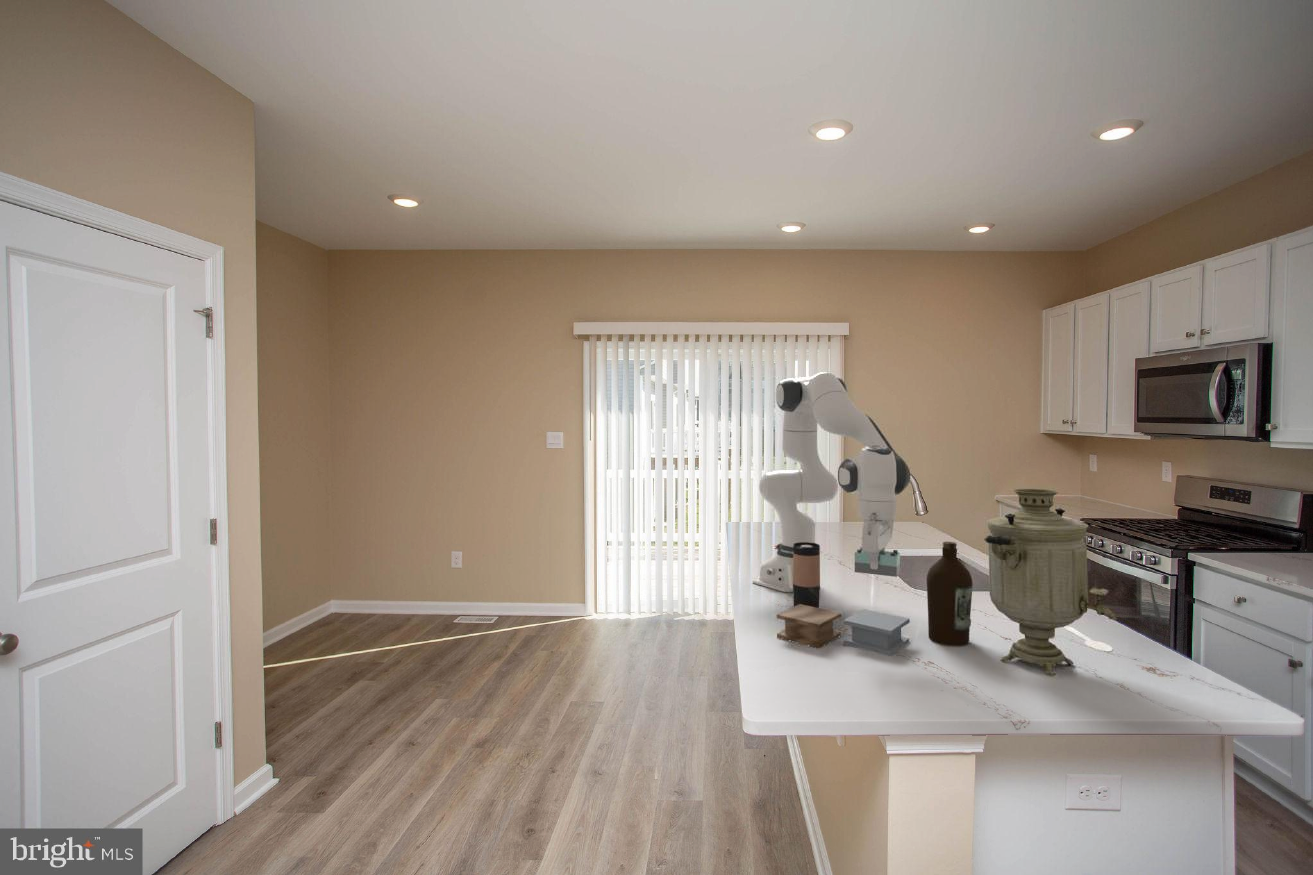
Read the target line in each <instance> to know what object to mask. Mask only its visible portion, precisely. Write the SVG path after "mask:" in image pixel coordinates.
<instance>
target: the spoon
mask: <svg viewBox="0 0 1313 875" xmlns="http://www.w3.org/2000/svg"><path fill="white" fill-rule="evenodd" d="M1062 629H1064V630H1067V631H1068V632H1070V633H1072V634H1073V635H1075V636H1077V637H1079V638H1081V639H1083V640H1085V641H1083V644H1084V645H1085V646H1087V647H1089V648H1091V649H1093V650H1095V651H1096V650H1097V651H1100V652H1106V653H1109V652H1112V651H1113V647H1112V646H1110V645H1109V644H1107V643H1104V642H1102V641H1097V640H1093V639H1091V638H1090V637H1088V636H1086V635H1085V634H1083V633H1082V632H1080V631H1078V630H1077V629H1075V628H1074V627H1072V626H1069V625H1066V626H1064V627H1062Z"/></svg>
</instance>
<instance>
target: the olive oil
mask: <svg viewBox="0 0 1313 875" xmlns="http://www.w3.org/2000/svg"><path fill="white" fill-rule="evenodd" d="M941 550H942V551H941V552H942V554H941V555H942V556H941V557H940V559H938V560H937V561H936V562H935V563H934V564H932V565H931V567H930V568H929V569H928V571H927V575H926V597H927V620H928V621H927V625H928V627H927V628H928V630H927V631H928V639H929V640H930V641H932V642H935V643H936V644H938V645H939V644H940V645H943V646H949V647H964V646H966V645H968V644H969V643H970V632H971V631H970V630H971V629H970V628H971V625H972V619H971V611H972V597H973V578H972V576H971V572H970V571H969V570H968V569H967V568H966V566H965V565H964V564H963V563H962V562H961V560H959V559H958V556H957V555H958V548H957V542H954V541H942V549H941Z"/></svg>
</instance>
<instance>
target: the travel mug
mask: <svg viewBox="0 0 1313 875" xmlns="http://www.w3.org/2000/svg"><path fill="white" fill-rule="evenodd" d="M820 592H821V547H820V544H818V543H816V542H815V543H809V542H799V543H795V544H794V545H793V592H792V595H793V596H792V599H793V607H794V606H797V605H799V604H802V605H807V606H811V607H816V608H820V597H821V596H820V594H821V593H820Z"/></svg>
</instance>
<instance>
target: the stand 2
mask: <svg viewBox="0 0 1313 875" xmlns="http://www.w3.org/2000/svg"><path fill="white" fill-rule="evenodd" d="M908 624H910V618H909V617H904V616H898V615H894V614H890V613H884V612H879V611H876V610H869V609H865V608H863V609H861V610H860V611H858V612H856V613H854V614H852V615H850V616H849V617H847V618H845V619H844V620H843V625H845V626H851V634H850V635H849V636H847V637H846V638H844V639H843V645H846V644H847V645H846V646H850V645H851V646H852V647H855V648H859V649H863V650H867V651H870V652H875V653H878V654H882V655H886V656H891V657H892V656H893V655H894V654H896V653H897V652H898V651H900V650H901V649H902V648H903V647H905V646H906V645H907V644H909V643H910V637H906V636H902V629H903V627H905V626H907V625H908ZM851 646H850V647H851Z"/></svg>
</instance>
